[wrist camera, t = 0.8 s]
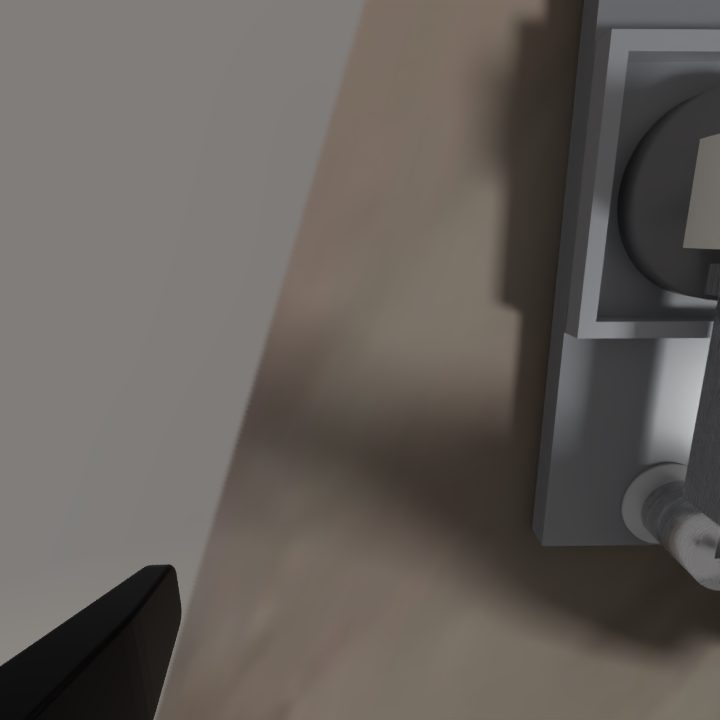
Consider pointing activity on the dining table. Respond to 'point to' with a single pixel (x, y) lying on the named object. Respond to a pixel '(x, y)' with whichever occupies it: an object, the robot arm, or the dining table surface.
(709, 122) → the plug
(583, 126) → the socket base
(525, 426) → the dining table surface
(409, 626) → the dining table surface
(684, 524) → the pivoting lever handle
